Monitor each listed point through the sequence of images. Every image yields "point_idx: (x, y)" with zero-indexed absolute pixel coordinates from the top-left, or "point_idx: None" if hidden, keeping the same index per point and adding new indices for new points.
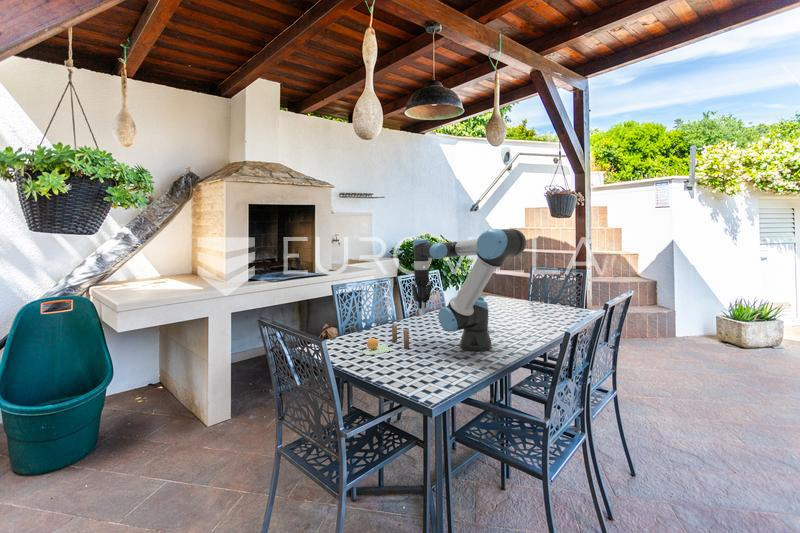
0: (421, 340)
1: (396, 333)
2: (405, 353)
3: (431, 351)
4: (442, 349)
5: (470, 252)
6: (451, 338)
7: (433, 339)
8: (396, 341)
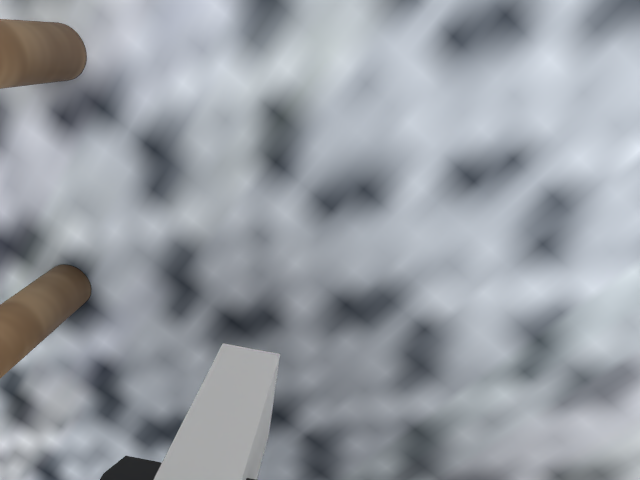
0: (313, 199)
1: (8, 87)
2: None
3: None
4: (284, 475)
5: None
6: (585, 340)
7: (429, 252)
8: (63, 80)
